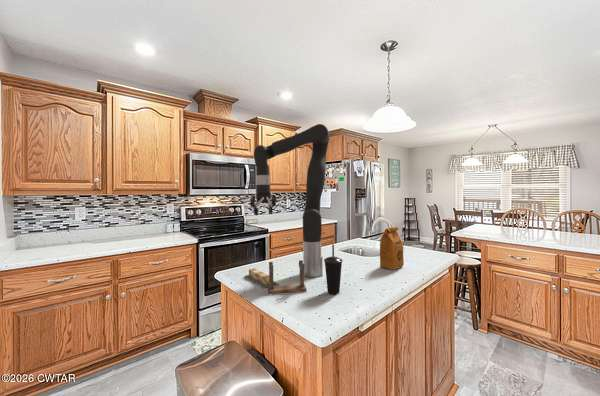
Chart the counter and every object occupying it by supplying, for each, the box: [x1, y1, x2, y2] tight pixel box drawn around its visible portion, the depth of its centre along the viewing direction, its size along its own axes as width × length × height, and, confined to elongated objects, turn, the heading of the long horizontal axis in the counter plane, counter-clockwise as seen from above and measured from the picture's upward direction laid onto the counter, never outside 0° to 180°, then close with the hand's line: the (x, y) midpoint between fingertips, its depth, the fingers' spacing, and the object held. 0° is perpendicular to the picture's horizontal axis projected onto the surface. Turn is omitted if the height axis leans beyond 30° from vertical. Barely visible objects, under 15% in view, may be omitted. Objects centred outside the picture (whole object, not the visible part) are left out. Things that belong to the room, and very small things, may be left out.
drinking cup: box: [323, 244, 344, 296], centre depth 105 cm, size 8×8×20 cm
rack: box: [267, 259, 307, 296], centre depth 107 cm, size 16×6×12 cm, turn 99°
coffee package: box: [379, 226, 404, 270], centre depth 138 cm, size 10×12×22 cm
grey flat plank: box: [244, 274, 280, 289], centre depth 120 cm, size 20×7×1 cm, turn 39°
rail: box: [248, 268, 275, 285], centre depth 120 cm, size 18×3×3 cm, turn 39°
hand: (263, 214), depth 134 cm, fingers open, 8 cm apart
